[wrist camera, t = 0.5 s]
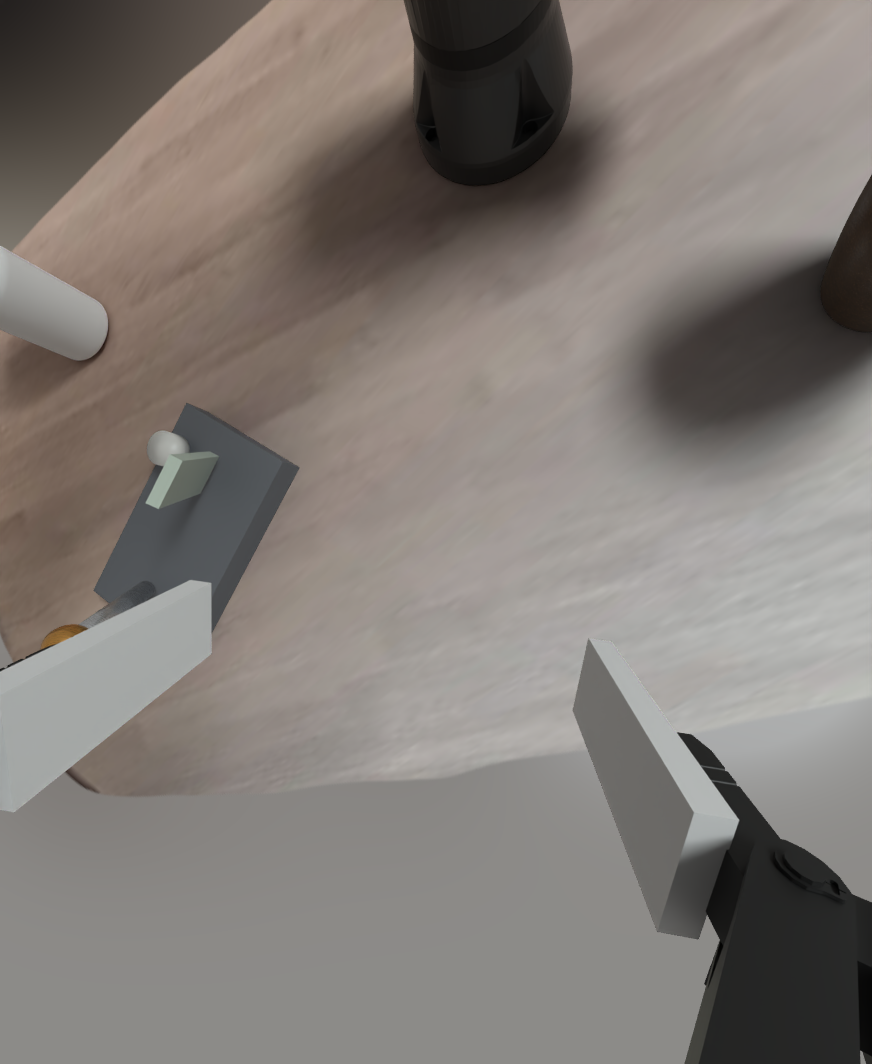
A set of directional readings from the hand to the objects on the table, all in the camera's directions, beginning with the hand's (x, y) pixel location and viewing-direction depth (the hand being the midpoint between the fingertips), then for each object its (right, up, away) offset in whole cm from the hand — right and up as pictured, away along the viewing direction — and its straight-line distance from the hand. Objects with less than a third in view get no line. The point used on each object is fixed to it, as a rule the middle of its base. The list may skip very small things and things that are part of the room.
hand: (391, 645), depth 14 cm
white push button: (-26, +12, +30) cm, 42 cm away
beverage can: (-43, +30, +39) cm, 65 cm away
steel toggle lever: (-29, -2, +30) cm, 42 cm away
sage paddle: (-22, +10, +29) cm, 38 cm away
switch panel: (-25, +4, +33) cm, 42 cm away
